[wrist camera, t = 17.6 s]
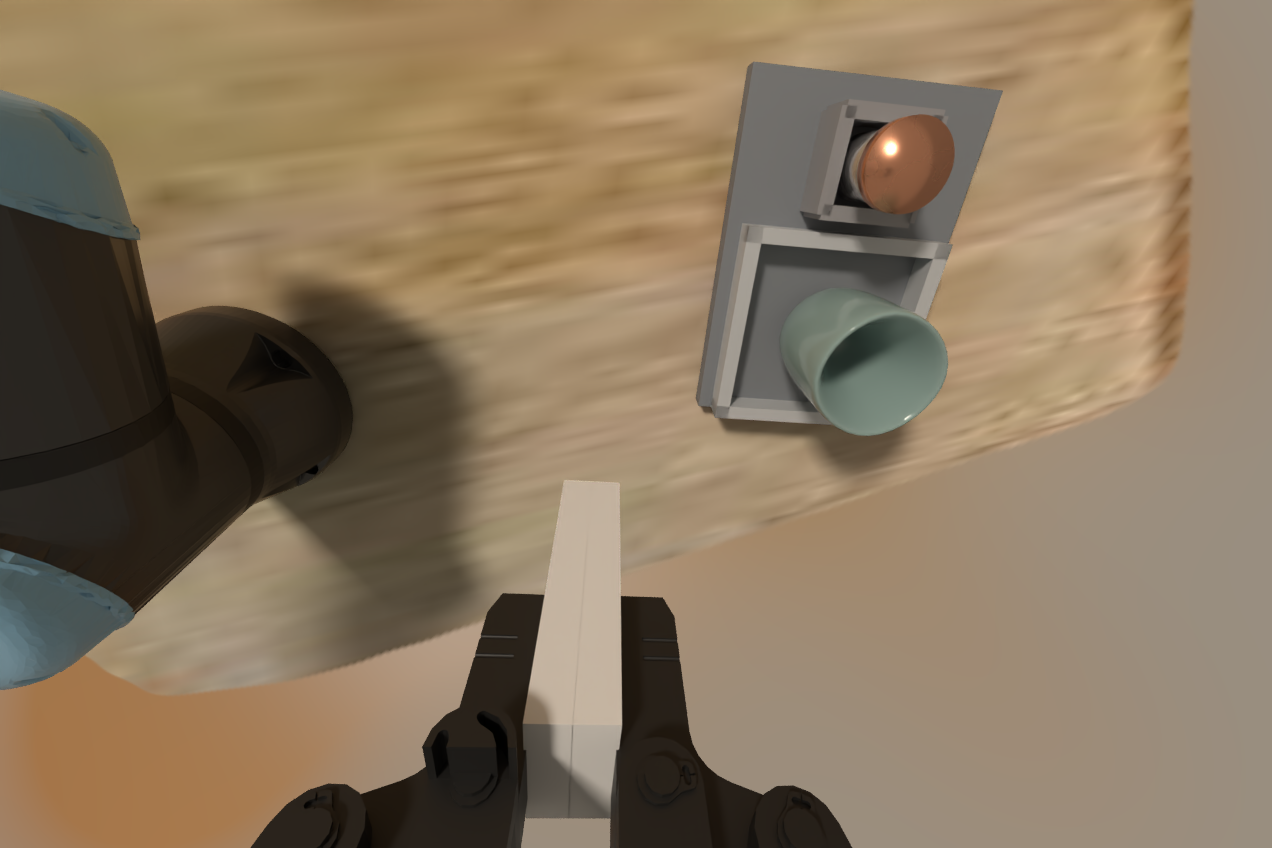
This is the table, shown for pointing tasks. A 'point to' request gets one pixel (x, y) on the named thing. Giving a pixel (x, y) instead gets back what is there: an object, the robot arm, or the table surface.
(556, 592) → the robot arm
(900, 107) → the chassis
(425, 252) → the table surface
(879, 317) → the cup
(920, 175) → the plunger
